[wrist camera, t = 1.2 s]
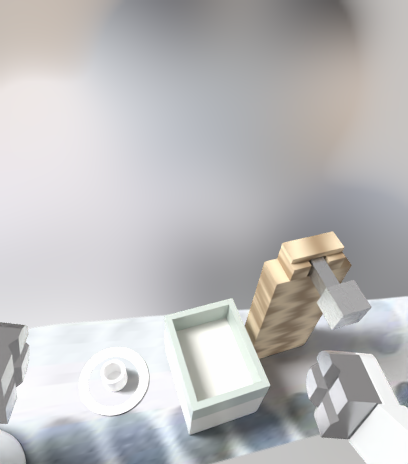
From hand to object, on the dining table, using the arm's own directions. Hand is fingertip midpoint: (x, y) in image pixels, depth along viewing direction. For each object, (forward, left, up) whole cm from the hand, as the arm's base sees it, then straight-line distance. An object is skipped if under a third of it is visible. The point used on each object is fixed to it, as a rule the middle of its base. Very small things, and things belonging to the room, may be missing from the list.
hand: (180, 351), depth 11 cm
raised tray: (+12, +19, -59) cm, 63 cm away
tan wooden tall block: (+26, +21, -59) cm, 68 cm away
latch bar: (+26, +17, -33) cm, 45 cm away
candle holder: (-4, +23, -59) cm, 64 cm away
